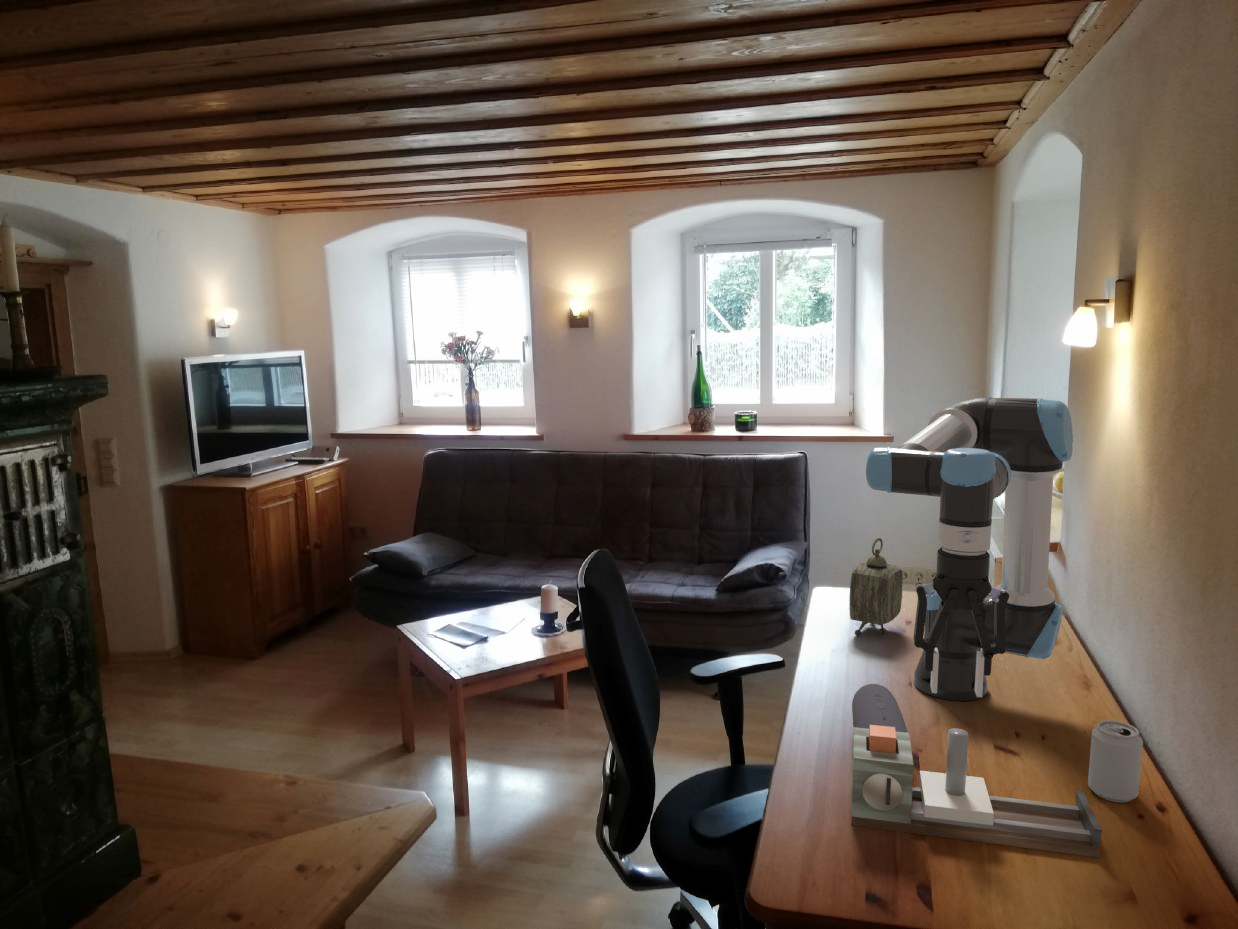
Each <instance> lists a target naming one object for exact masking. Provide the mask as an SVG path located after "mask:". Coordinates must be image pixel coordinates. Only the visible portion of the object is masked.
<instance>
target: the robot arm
mask: <svg viewBox="0 0 1238 929" xmlns="http://www.w3.org/2000/svg"><path fill="white" fill-rule="evenodd" d="M1073 431H1074V430H1073V422H1072V417H1071V413H1070V410H1069V407H1068V406H1067V405H1066V403H1065V402H1062V401H1060V400H1051V399H1044V398H1029V397H1028V398H1026V397H1025V398H1024V397H1022V398H1021V397H1020V398H1018V397H1016V398H1015V397H1014V398H1012V397H1011V398H1010V397H992V396H990V397H988V396H986V397H985V396H984V397H976V398H970V399H967V400H963V401H960V402H957V403H954V404H952V405H949V406H947V407H944V408H943V409H941V410H939V411H938V412H937V413H936V414H934V415H933V416H932V417H931V419H930V420H929V422H928V425H927V426H926V427H924V428H923V429H921V430H920V431H919V432H918V433H916V434H914V435H913V436H912V437H910V438H909V439H907V440H906V441H904V442H903V443H901V444H900V445H899V446H898V447H891V446H886V447H875V448H873V449H871V450H870V452H869V454H868V457H867V460H866V464H865V465H866V466H865V478H866V482H867V485H868V486H869V487H870V488H871V489H872V490H874V491H882V492H887V493H889V494H890V493H896V494H906V495H917V496H926V497H927V496H929V497H937V498H940V500H939V520H938V534H937V535H938V537H937V545H938V546H939V547H940V548H939V549H938V550H937V555H936V574H935V577H934V578H933V580H932V582H927V583H921V582H917V583H916V584H915V591H916V595H917V603H916V604H917V605H916V611H915V612H916V613H915V621H914V630H913V637H912V638H913V639H912V640H913V644H914V646H915V647H916V648H920V649H922V650H923V651H922V652H921V656H920V658H919V660H918V663H917V666H916V668H915V671H914V673H913V674H914V675H913V684H914V686H915V687H916V689H918V690H919V691H921V692H922V693H924V694H926V695H929V696H932V697H935V698H938V699H943V700H949V701H957V702H965V701H975V700H979V699H981V698H983V697H985V696H986V695H987V693H988V679H987V677H989V676H990V675H991V674H992V659H993V658H994V656H995V655H998V654H1000V655H1003V654H1009V655H1013V656H1019V657H1024V658H1026V659H1027V658H1028V659H1029V658H1031V659H1038V660H1046V659H1048V658H1050V657H1051V656H1052V654H1053V652H1054V649H1055V646H1056V643H1057V640H1058V636H1059V633H1060V628H1061V624H1062V618H1063V615H1064V614H1063V613H1064V606H1062V605H1060V604H1059V603H1056V595H1055V593H1054V592H1053V591H1052V590H1051V589H1050V588H1049V587H1048V583H1049V565H1050V564H1049V562H1050V561H1049V560H1050V547H1051V546H1050V545H1051V528H1052V526H1051V524H1052V509H1053V508H1052V506H1053V488H1054V487H1053V485H1054V476H1055V475H1056V474H1058V473H1059V472H1060V471H1061V470H1063V463H1065V462H1066V461H1067V462H1068V461H1070V460H1071V459H1072V455H1073V451H1074V450H1073V449H1074V448H1073V442H1074V436H1073V435H1074V434H1073ZM1003 493H1004V514H1003V515H1004V516H1003V517H1004V518H1003V519H1004V520H1003V538H1002V540H1003V541H1002V542H1003V543H1002V544H1003V546H1002V567H1001V571H1002V572H1001V582H1000V584H998V585H996V587H995V586H993V585H992V584H991V583H990V580H989V578H990V577H989V576H990V573H989V572H990V560H991V559H990V558H991V554H990V553H989V552H988V551H989V550H990V549H991V542H992V541H991V540H992V536H991V535H992V522H993V521H992V519H993V518H992V517H993V504H994V500H995V499H997V498H999V497H1000V496H1001V495H1002V494H1003Z"/></svg>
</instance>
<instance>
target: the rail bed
mask: <svg viewBox="0 0 1238 929" xmlns="http://www.w3.org/2000/svg"><path fill="white" fill-rule="evenodd" d="M852 730H853V733H852V734H853V735H852V761H851V762H852V764H851V766H852V767H851V789H850V790H851V791H850V793H851V794H850V796H851V797H850V799H851V800H850V802H851V805H850V806H851V808H850V811H851V813H850V814H851V816H850V818H851V823H850V825H851V826H858V827H866V828H873V829H881V830H887V831H895V832H902V833H904V832H905V833H910V834H916V835H917V834H918V835H925V836H934V837H939V838H940V837H941V838H942V837H943V838H947V839H948V838H949V839H957V840H963V841H972V842H978V843H987V844H994V845H1002V846H1009V847H1016V848H1023V849H1024V848H1025V849H1032V850H1039V851H1047V852H1054V853H1062V854H1070V855H1077V856H1083V857H1084V856H1086V857H1093V858H1100V857H1101V856H1100V855H1101V854H1100V853H1101V844H1102V843H1101V842H1102V834H1103V832H1102V827H1101V825H1100V823H1099V821H1098V820H1097V818H1096V815H1095V813H1094V811H1093V809H1092V807H1091V805H1090V803H1089V801H1088V799H1087V797H1086V795H1085V793H1084V791H1077V790H1076V791H1075V793H1076V794H1075V801H1074V802H1075V803H1074V805H1072V804H1071V805H1070V804H1063V803H1054V802H1047V801H1046V802H1045V801H1038V800H1029V799H1023V798H1021V799H1020V798H1014V797H1013V798H1012V797H1005V796H1004V797H1003V796H996V795H995V796H993V795H989V799H990V802H991V806H992V809H993V812H994V818H993V825H985V824H977V823H970V822H962V821H954V820H946V819H938V818H930V817H924V810H923V804H922V797H921V790H920V786H919V787H918V786H913V785H914V784H913V782H914V781H913V780H914V759H913V757H914V756H913V751H912V746H911V745H912V744H911V737H910V736H911V735H910V732H907V733H904V732H896V754H893V753H884V752H875V751H869V732H870V729H866V728H856V727H853V729H852Z"/></svg>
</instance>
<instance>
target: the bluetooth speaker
mask: <svg viewBox="0 0 1238 929" xmlns="http://www.w3.org/2000/svg"><path fill="white" fill-rule="evenodd" d="M852 698H853V699H852V701H851V702H852V704H851V712H852V726H853V728H854V727H856V728H866V729H870V725H879V726H888V727H895V731H896V732H904V733H908V727H907V725H906V722H905V720H904V717H903V714H902V711H901V709H900V706H899V704H898V702H897V699H896V698H895V695H893V693H892V692H891V691H890V690H889V689H888V688H887V687H886V686H883V685H881V684H877V683H869V684H865V685H862V686H861V687H860V688H858V690H856V692H855V693H854V695H853V697H852Z"/></svg>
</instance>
